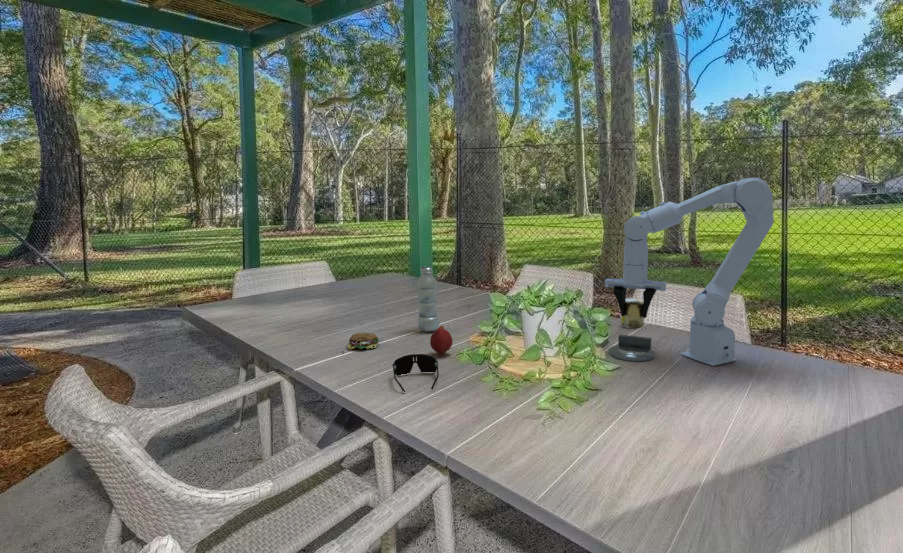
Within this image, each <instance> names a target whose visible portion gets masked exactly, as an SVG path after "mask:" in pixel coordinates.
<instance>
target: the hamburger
mask: <svg viewBox="0 0 903 553" xmlns="http://www.w3.org/2000/svg"><path fill="white" fill-rule="evenodd" d="M379 341H380V338H378V336H377V335H376V334H375V333H371V332H356V333H354V334H352V335H351V336H350V338H349V340H348V344H347V349H348V348H349V349H351V350H353V349H355V348H359V349H358V350H364V349H363V348H366V349H368V350H369V349H373V348H375V347H377V346H378V343H379ZM373 346H374V347H373ZM366 349H365V350H366ZM375 349H376V348H375Z"/></svg>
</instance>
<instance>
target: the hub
mask: <svg viewBox="0 0 903 553" xmlns="http://www.w3.org/2000/svg"><path fill="white" fill-rule="evenodd" d="M644 321H645V318H643V302H642V301H638V300H637V301H628V302H625V326H626V327H630V328H629V329H640V328H641V329H642V328H643V327H644V326H645V325H644Z"/></svg>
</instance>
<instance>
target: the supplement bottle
mask: <svg viewBox="0 0 903 553" xmlns="http://www.w3.org/2000/svg"><path fill="white" fill-rule="evenodd" d="M628 301H638V299H637V298H626V300H625V302H628ZM621 327H623V328H625V327H626V326H625V315H624V316H621ZM626 329H631V328H630V327H626Z"/></svg>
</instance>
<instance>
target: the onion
mask: <svg viewBox="0 0 903 553" xmlns="http://www.w3.org/2000/svg"><path fill="white" fill-rule="evenodd" d="M444 327H445V326H444V325H443V324H442V325H439V326H438V328H437V330H435V331H432V333H431V336H430V338H429V339H430V341H429V344H430V347H431V349H432V350H433V351H435V352H436V353H438V354H439V355H441V354H443V355H445V354H446V353H447V352H448V351H449V350H450V349H451V347H452V346H453V337H452V334H451V333H450V332H449V331H448V330H447V329H445V328H444Z"/></svg>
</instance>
